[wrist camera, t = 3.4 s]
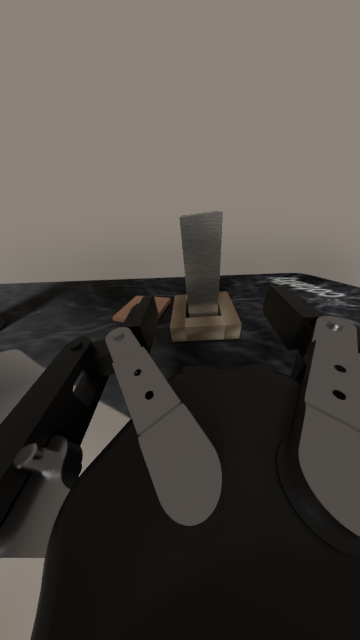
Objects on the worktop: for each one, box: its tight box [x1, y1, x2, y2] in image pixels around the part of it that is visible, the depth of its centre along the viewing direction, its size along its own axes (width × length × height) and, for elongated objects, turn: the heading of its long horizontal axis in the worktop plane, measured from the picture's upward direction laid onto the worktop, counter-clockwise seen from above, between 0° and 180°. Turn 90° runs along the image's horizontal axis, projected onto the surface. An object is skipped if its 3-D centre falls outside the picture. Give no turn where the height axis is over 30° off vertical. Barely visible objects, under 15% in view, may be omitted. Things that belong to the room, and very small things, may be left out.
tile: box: [112, 296, 171, 322], centre depth 28 cm, size 8×8×1 cm
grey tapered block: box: [180, 211, 223, 318], centre depth 20 cm, size 4×4×14 cm
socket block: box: [170, 291, 242, 342], centre depth 23 cm, size 9×9×2 cm
